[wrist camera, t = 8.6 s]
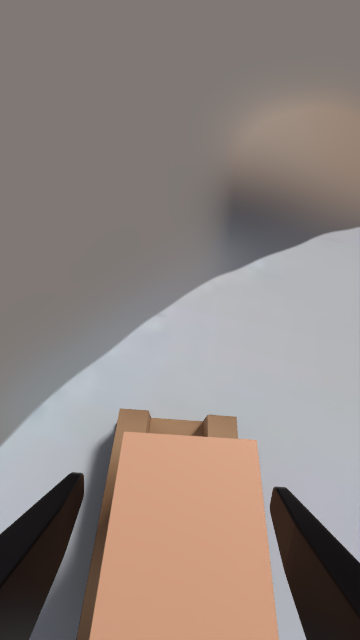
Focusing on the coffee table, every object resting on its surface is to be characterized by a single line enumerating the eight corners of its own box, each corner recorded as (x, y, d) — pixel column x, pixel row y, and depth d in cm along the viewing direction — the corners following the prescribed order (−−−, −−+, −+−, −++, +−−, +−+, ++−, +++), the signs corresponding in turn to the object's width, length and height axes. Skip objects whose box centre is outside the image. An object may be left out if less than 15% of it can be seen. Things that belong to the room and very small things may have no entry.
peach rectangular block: (191, 570, 13) (342, 1207, 2) (145, 567, 13) (-3, 1189, 2) (193, 462, 15) (256, 439, 4) (155, 459, 15) (123, 431, 4)
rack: (241, 637, 12) (263, 685, 9) (85, 627, 12) (61, 672, 9) (230, 425, 17) (241, 417, 15) (122, 418, 17) (114, 408, 15)
